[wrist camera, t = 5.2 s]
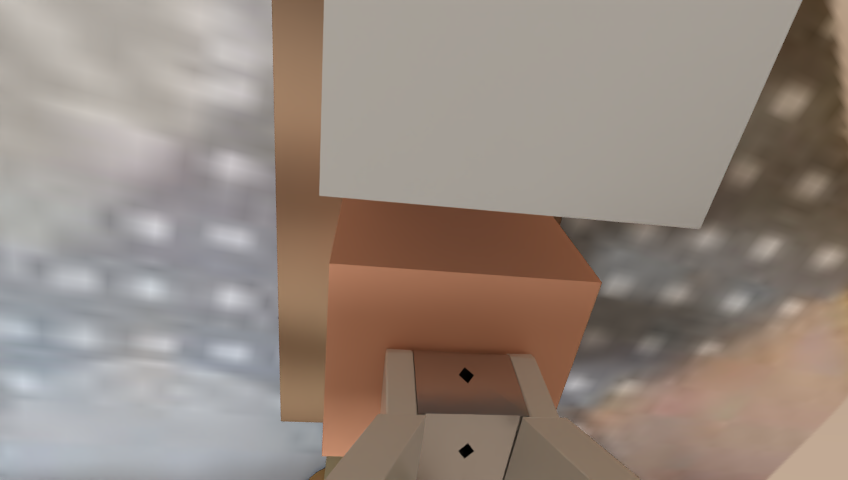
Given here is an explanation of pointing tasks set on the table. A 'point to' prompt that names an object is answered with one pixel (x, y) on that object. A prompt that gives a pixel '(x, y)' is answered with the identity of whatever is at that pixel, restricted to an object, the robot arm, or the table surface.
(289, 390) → the walnut rack
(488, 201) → the slate block
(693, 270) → the table surface
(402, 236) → the terracotta block
